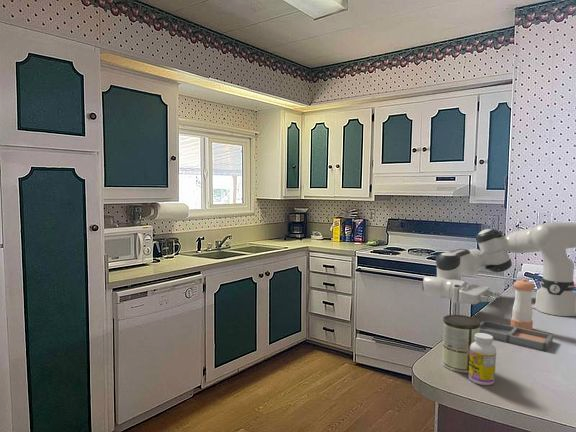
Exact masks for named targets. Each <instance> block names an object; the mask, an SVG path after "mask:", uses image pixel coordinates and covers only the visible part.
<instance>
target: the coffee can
mask: <svg viewBox="0 0 576 432" xmlns="http://www.w3.org/2000/svg"><path fill="white" fill-rule="evenodd" d="M481 322H482V321H480V320H479V319H478V318H476V317H473V316H468V315H462V314H449V315H445V316H443V330H442V352H441V353H442V355H441V356H442V358H441V364H442V366H443V367H444V368H446V369H448V370H451V371H454V372H458V373H468V374H469V358H470V345H471V344H472V343H473V342H475V339H474V336H475V334H476V333H480V324H481Z"/></svg>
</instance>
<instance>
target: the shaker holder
mask: <svg viewBox="0 0 576 432" xmlns="http://www.w3.org/2000/svg"><path fill="white" fill-rule="evenodd" d="M480 322H481V324H480V333H486V334H489V335H491V336H493V340H496V341H500V342H504V343H507V344H513V345H517V346H521V347H525V348H529V349H533V350H536V351H537V350H538V351H543V352H547V351H548V349H549V348H550V346H552V345H551V344H553V339H554V338H553V337H554V334H551V333H547V332H542V331H537V330H533V329H532V330H528V329H523V328H519V327H514V326H511V325H510V324H504V323H499V322H494V321H490V320H485V319H484V320H482V321H480Z"/></svg>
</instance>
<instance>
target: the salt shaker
mask: <svg viewBox="0 0 576 432" xmlns="http://www.w3.org/2000/svg"><path fill="white" fill-rule="evenodd" d="M513 288H514V289H515V292H514V293H515V294H514V302H513V307H512V315H511V316H512V317H511V318H510V326H514V327H519V328H523V329H528V330H533V323H534V321H533V308H532V305H533V302H532V299H533V298H532V296H533V294H532V293H533V291H534V290H535V283H533V282H531V281H530V280H529V281H528V280H527V279H526V278H522V279H521V280H516V281H514V283H513Z"/></svg>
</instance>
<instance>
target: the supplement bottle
mask: <svg viewBox="0 0 576 432" xmlns="http://www.w3.org/2000/svg"><path fill="white" fill-rule="evenodd" d="M474 339H475V342H473V343H472V344H471V345H470V358H469V373H468V374H467V375H468V376H467V377H468V378H469V380H470V381H471V382H472V383H474V384H476V385H477V384H478V385H482V386H491V385H494V383H495V379H496V378H495V377H496V364H497V363H496V361H497V348H496V346H495V345H494V344H493V342H494V339H493V336H491V335H489V334H486V333H476V334H475V336H474Z"/></svg>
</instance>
